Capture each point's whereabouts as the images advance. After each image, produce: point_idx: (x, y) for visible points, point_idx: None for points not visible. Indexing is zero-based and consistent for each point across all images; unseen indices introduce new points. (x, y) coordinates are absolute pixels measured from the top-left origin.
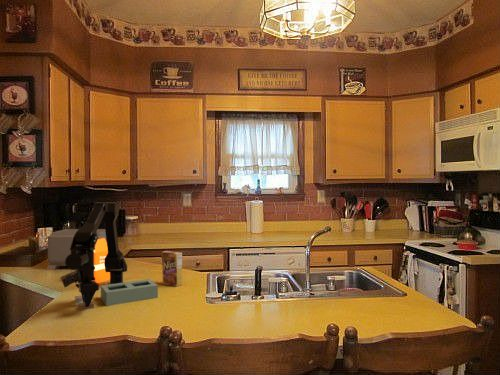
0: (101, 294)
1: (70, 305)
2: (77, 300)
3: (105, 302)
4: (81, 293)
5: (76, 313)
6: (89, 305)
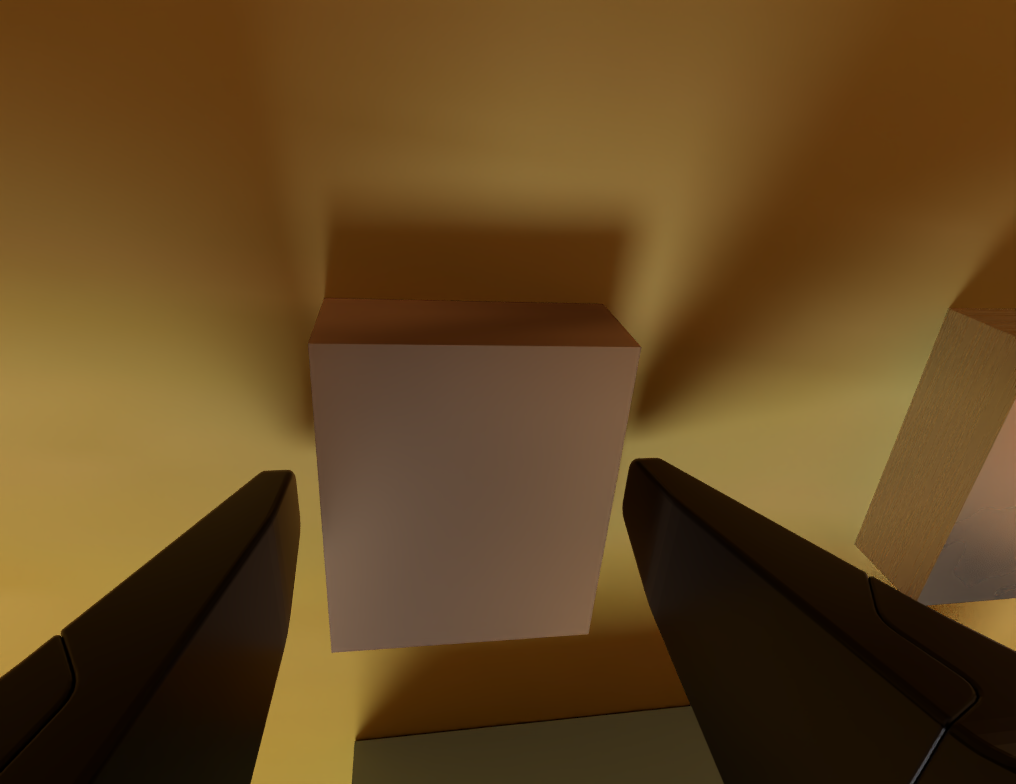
0: None
1: (904, 159)
2: (990, 359)
3: (466, 765)
4: (825, 622)
5: (68, 182)
6: (329, 554)
